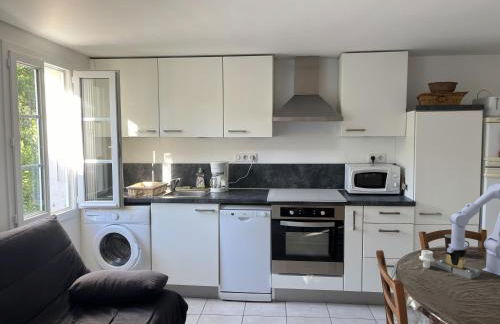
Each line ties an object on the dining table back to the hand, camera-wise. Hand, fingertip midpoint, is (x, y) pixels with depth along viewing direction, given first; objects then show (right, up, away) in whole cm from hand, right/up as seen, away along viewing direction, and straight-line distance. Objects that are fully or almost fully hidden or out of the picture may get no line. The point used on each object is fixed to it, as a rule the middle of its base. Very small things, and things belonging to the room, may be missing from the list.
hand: (456, 264), depth 174 cm
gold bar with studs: (0, -3, +1) cm, 3 cm away
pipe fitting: (-12, -3, +6) cm, 14 cm away
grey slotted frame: (0, -3, 0) cm, 3 cm away
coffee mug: (+14, -2, +24) cm, 28 cm away
